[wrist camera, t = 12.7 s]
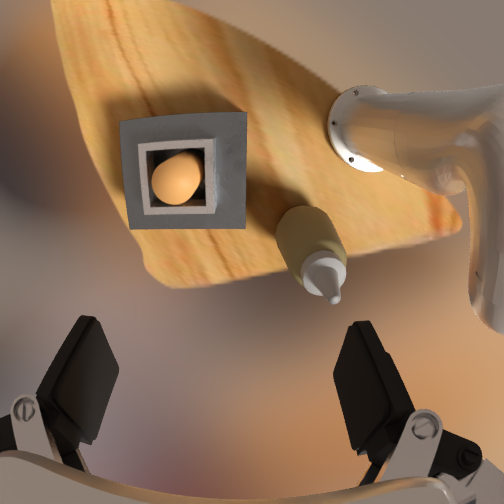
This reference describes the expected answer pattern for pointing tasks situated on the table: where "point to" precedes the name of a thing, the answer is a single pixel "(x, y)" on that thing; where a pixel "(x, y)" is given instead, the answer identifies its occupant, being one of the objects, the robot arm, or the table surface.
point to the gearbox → (216, 169)
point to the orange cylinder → (179, 176)
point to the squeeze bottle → (312, 251)
